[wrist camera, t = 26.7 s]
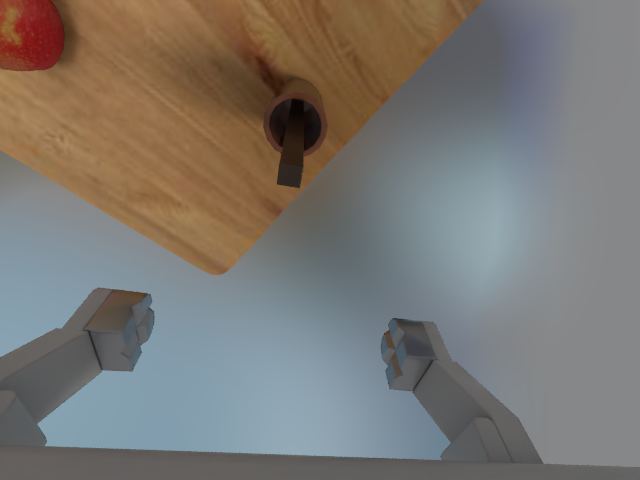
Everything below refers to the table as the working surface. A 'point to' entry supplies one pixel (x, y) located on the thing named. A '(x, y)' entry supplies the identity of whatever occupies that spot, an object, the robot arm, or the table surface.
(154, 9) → the table surface
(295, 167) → the stick
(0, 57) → the apple
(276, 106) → the crock
